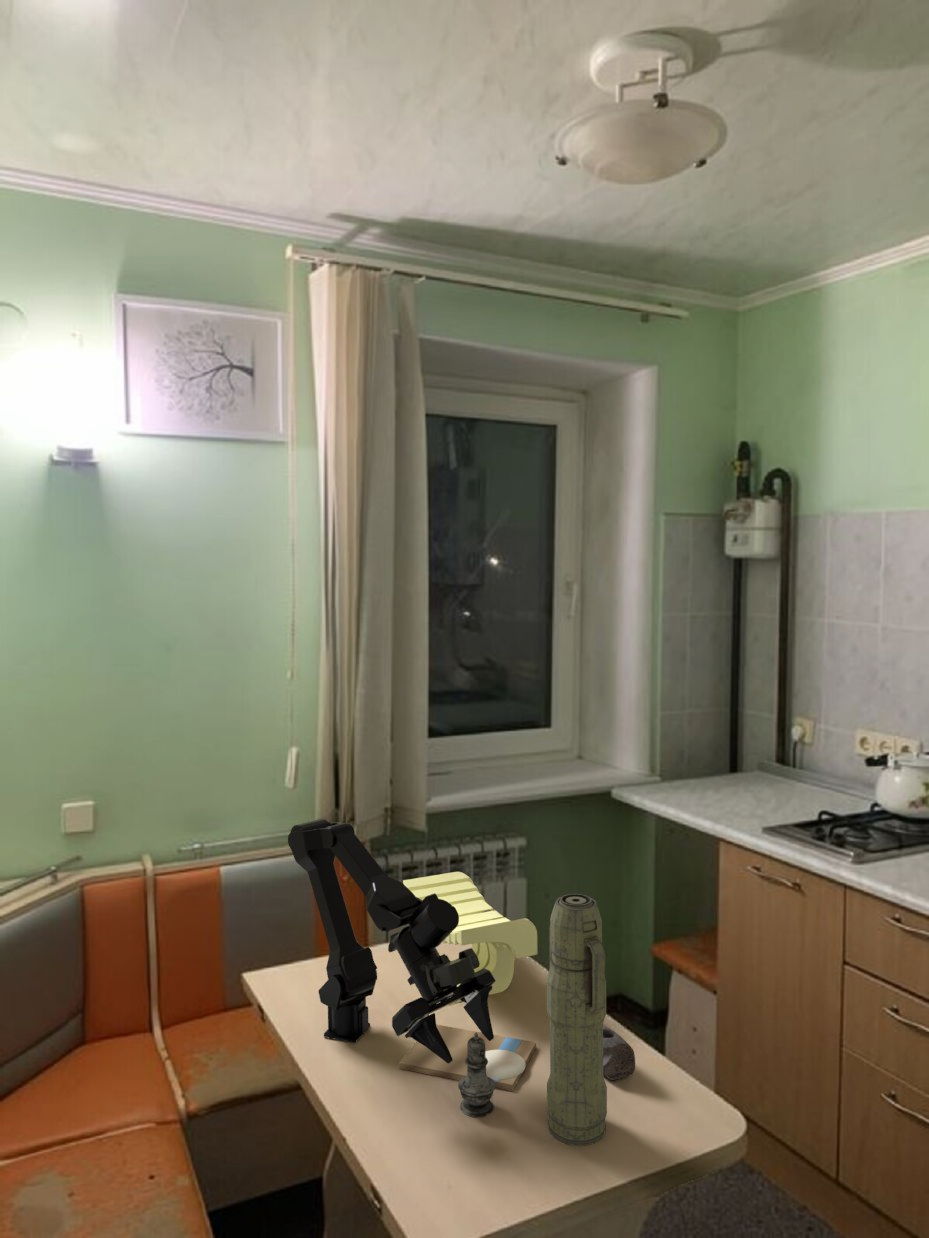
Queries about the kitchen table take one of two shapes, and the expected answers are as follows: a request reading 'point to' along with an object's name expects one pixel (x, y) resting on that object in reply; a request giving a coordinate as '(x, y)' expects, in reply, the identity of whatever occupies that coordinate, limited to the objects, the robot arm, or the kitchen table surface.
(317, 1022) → the kitchen table surface
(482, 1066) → the dark grey chess piece
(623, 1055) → the perforated stone tool
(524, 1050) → the board
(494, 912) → the slatted curved stool
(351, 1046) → the kitchen table surface
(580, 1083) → the thermos
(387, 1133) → the kitchen table surface
